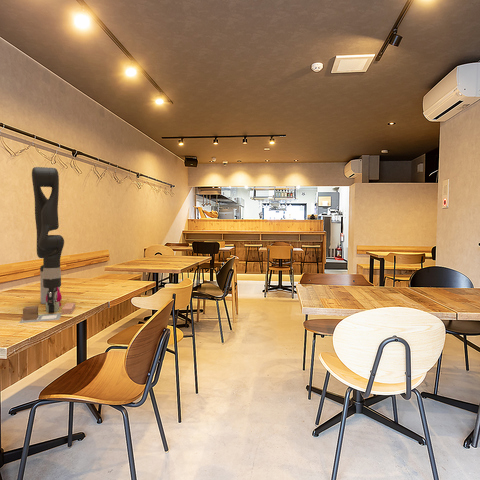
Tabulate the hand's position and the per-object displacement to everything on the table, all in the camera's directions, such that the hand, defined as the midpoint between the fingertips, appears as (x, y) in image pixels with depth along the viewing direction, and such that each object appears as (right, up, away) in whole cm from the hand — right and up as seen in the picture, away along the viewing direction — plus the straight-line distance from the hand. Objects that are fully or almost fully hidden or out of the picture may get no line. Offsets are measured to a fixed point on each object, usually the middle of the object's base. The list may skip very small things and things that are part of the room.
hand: (52, 311), depth 161 cm
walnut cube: (-2, 0, -14) cm, 14 cm away
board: (+2, -1, -12) cm, 12 cm away
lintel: (+8, -1, 0) cm, 8 cm away
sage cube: (0, -1, 0) cm, 1 cm away
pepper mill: (-6, 0, +13) cm, 14 cm away
